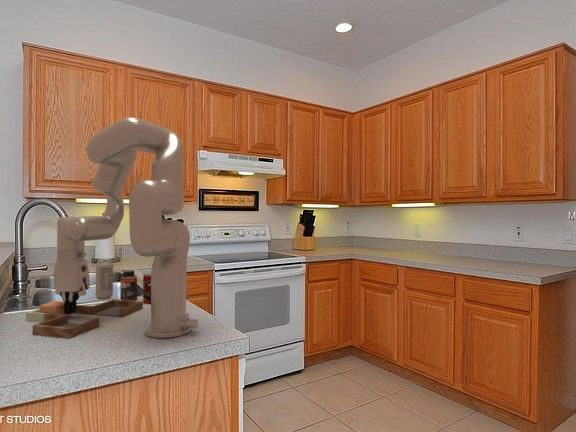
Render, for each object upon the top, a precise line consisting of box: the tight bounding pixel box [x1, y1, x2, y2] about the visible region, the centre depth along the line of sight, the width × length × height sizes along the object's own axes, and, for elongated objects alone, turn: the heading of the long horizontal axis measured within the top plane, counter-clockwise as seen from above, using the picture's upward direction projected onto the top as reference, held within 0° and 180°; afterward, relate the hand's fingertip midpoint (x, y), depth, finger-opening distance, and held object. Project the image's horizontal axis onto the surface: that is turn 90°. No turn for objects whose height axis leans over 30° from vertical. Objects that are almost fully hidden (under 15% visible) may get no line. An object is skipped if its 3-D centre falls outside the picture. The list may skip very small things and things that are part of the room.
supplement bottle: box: [120, 269, 138, 301], centre depth 141 cm, size 6×6×11 cm
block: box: [39, 300, 72, 317], centre depth 117 cm, size 6×6×4 cm
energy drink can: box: [95, 258, 114, 301], centre depth 143 cm, size 6×6×15 cm
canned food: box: [142, 271, 151, 305], centre depth 138 cm, size 8×8×11 cm
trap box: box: [25, 299, 144, 339], centre depth 115 cm, size 26×32×2 cm
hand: (70, 313), depth 116 cm, fingers closed
